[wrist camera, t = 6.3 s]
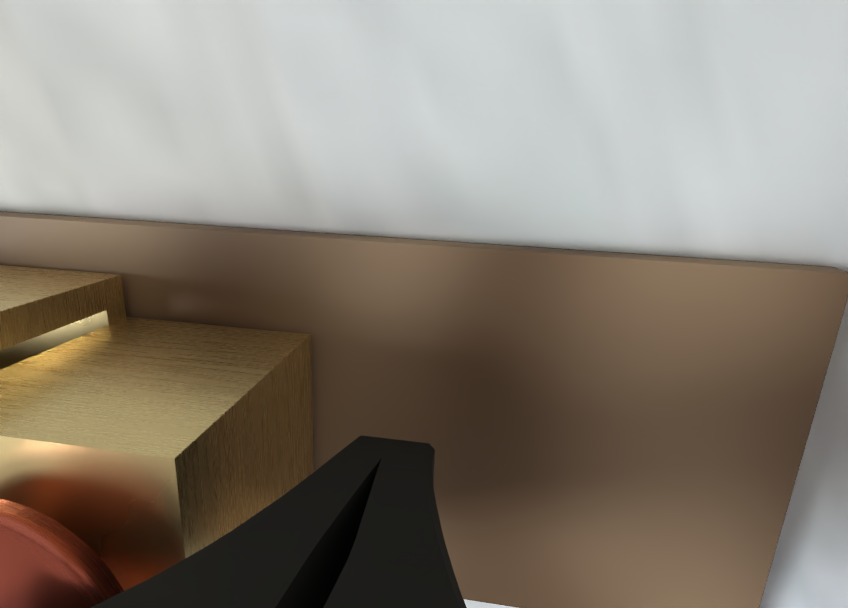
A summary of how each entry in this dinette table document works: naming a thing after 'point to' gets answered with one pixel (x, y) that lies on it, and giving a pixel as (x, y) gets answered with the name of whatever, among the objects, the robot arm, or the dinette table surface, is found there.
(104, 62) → the dinette table surface
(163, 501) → the tan boxy piece
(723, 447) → the knob block baseplate
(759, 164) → the dinette table surface
